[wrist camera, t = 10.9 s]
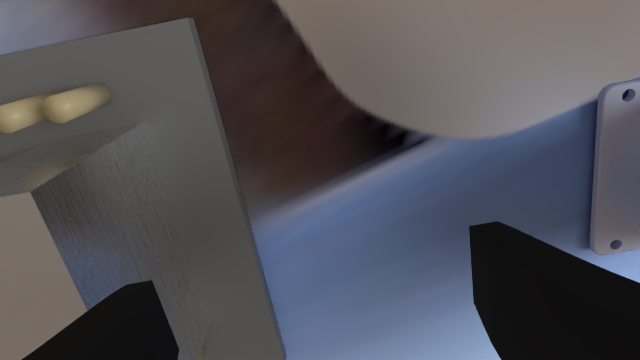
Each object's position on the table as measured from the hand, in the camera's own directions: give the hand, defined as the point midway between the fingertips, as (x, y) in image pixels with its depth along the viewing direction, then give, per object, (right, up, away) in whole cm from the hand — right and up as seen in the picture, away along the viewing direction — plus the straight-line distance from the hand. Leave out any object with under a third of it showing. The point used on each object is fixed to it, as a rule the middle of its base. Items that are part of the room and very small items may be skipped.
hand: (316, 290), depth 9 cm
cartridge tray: (-8, 0, +10) cm, 13 cm away
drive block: (-8, 0, +9) cm, 12 cm away
